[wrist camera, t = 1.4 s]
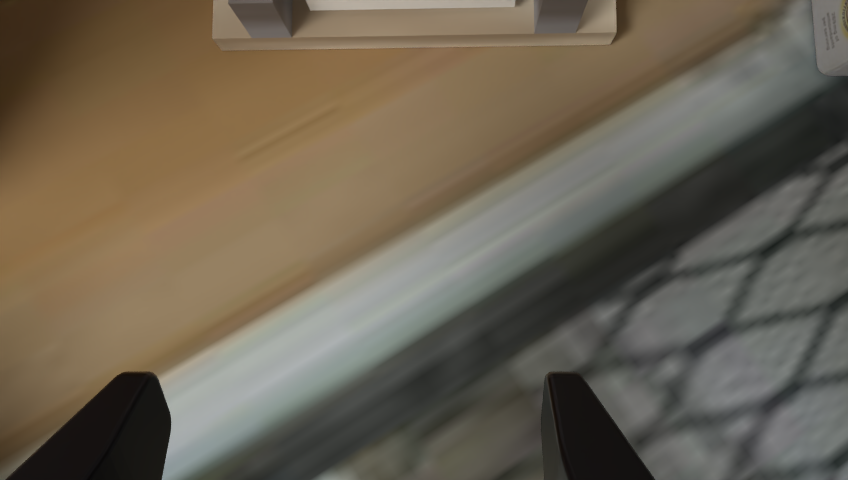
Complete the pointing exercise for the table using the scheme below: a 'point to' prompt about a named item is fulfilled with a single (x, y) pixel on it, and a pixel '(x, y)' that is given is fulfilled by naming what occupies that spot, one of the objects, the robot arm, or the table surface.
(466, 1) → the push knob
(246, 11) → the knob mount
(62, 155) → the table surface
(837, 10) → the coffee box
